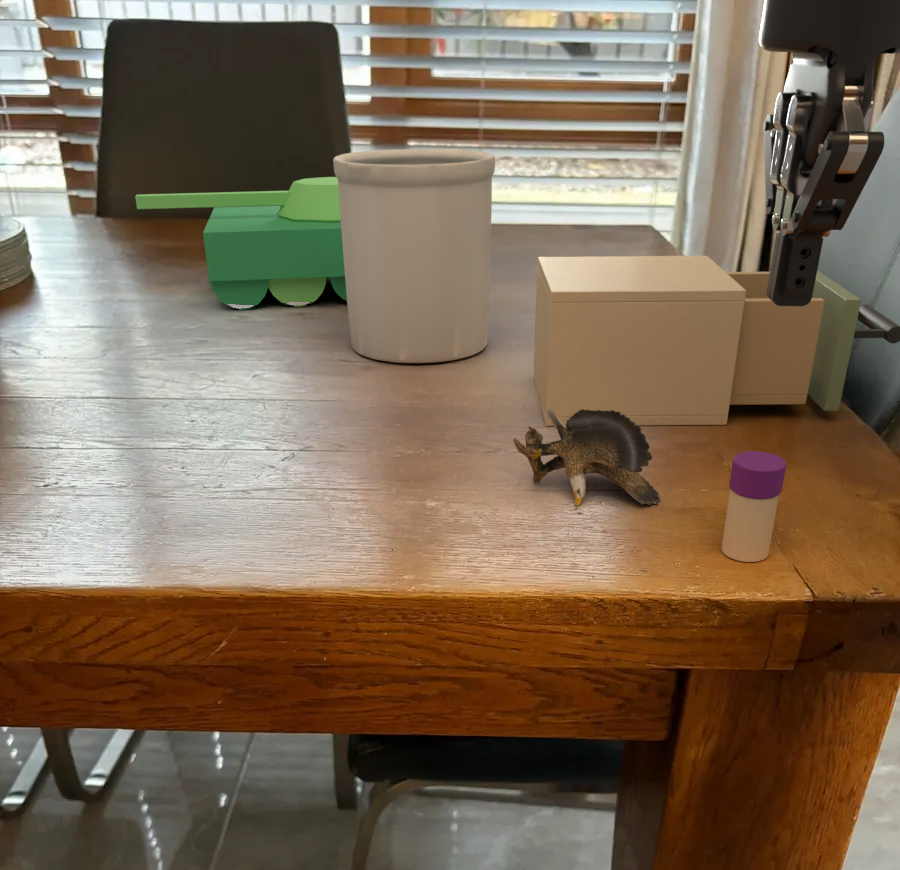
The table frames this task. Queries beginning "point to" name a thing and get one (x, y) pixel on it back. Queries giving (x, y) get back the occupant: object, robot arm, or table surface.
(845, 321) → the drawer
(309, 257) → the toy tank
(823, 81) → the robot arm
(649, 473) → the table surface
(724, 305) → the cabinet
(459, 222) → the utensil holder
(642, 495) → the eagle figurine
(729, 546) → the glue stick
